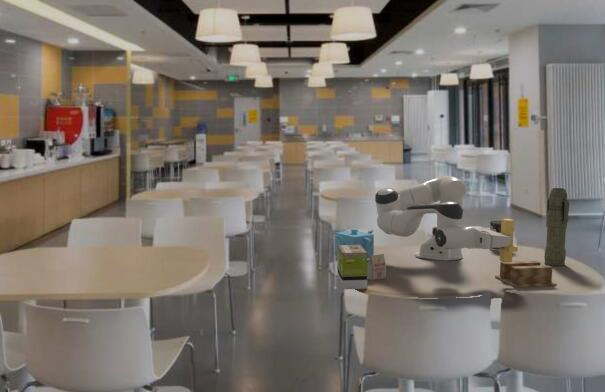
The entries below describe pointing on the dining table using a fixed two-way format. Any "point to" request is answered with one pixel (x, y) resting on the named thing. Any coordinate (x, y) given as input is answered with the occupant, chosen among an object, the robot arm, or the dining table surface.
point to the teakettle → (355, 240)
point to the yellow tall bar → (508, 229)
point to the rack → (525, 274)
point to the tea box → (352, 266)
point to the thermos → (556, 227)
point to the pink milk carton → (376, 267)
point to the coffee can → (495, 230)
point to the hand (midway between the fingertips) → (509, 236)
